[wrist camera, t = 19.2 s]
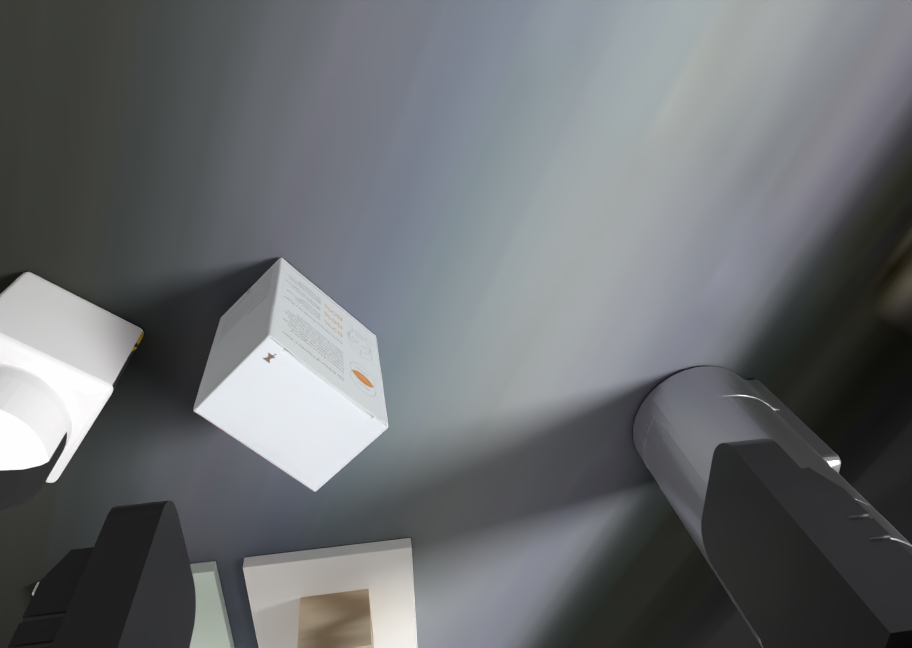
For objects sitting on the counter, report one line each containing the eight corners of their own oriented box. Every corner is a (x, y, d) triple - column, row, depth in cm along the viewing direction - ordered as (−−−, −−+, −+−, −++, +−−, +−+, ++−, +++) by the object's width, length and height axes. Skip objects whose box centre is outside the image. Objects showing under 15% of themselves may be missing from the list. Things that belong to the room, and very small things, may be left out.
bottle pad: (215, 560, 51) (213, 571, 50) (240, 674, 56) (239, 685, 55) (37, 582, 49) (31, 593, 48) (80, 697, 54) (75, 709, 53)
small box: (219, 316, 43) (186, 410, 33) (281, 253, 42) (265, 332, 32) (318, 392, 46) (314, 497, 37) (379, 335, 45) (390, 429, 35)
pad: (410, 537, 52) (411, 547, 51) (416, 650, 58) (418, 660, 57) (244, 557, 51) (242, 567, 50) (266, 671, 56) (265, 682, 55)
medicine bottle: (93, 415, 44) (16, 553, 34) (-26, 362, 42) (-151, 493, 31) (147, 328, 42) (83, 446, 32) (26, 267, 40) (-88, 372, 29)
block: (368, 588, 53) (371, 644, 48) (373, 635, 55) (376, 693, 50) (300, 597, 52) (297, 655, 48) (307, 644, 54) (305, 704, 50)
